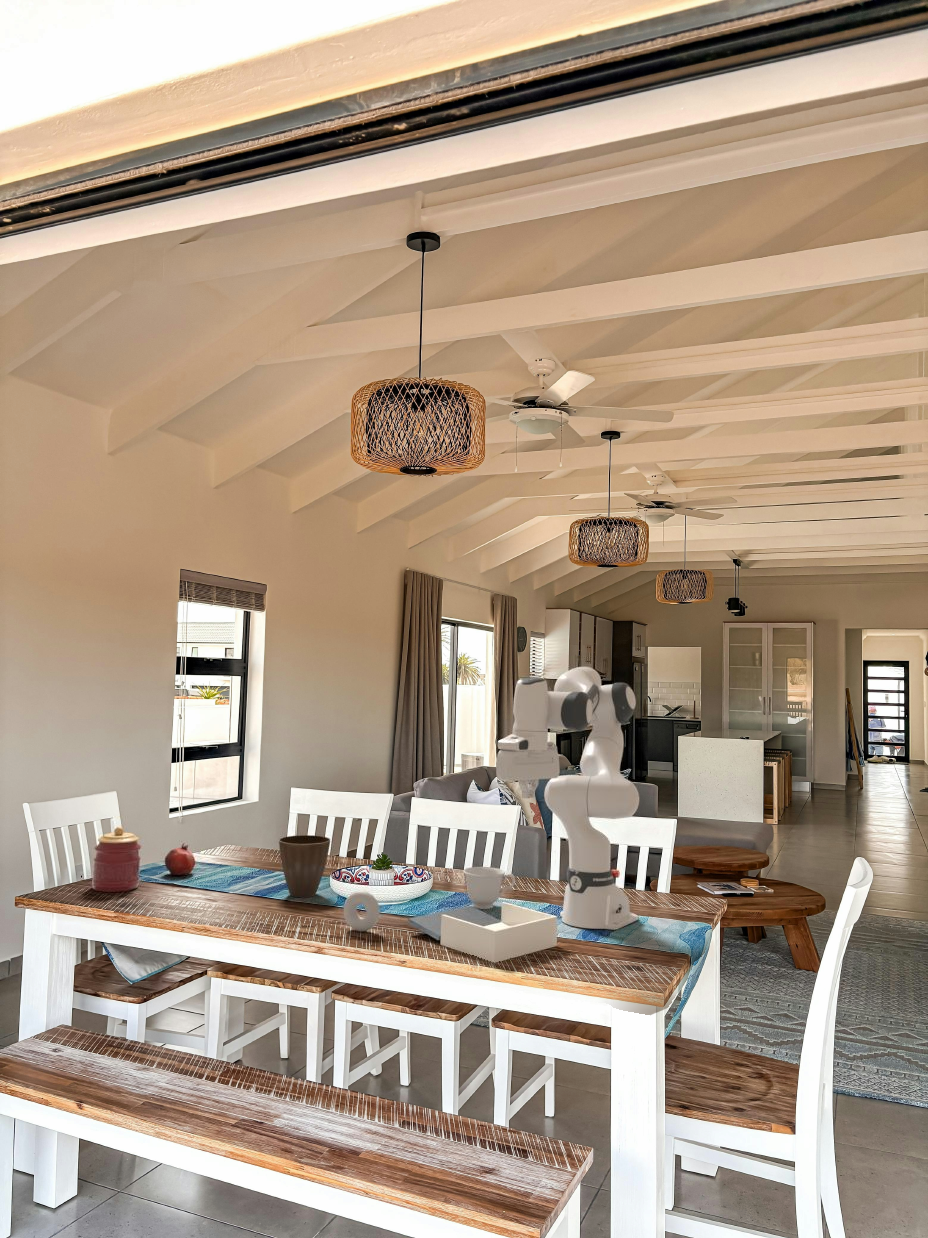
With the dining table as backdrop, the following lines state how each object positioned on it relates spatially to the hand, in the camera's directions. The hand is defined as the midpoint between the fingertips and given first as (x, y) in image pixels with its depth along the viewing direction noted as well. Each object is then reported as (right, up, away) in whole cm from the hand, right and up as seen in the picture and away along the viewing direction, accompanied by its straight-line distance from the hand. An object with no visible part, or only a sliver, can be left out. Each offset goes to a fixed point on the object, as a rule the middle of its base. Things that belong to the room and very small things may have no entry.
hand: (528, 798), depth 222 cm
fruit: (-106, -37, +60) cm, 127 cm away
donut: (-42, -34, +2) cm, 54 cm away
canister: (-119, -35, +40) cm, 130 cm away
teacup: (-9, -38, +31) cm, 50 cm away
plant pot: (-63, -36, +39) cm, 83 cm away
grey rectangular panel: (-14, -34, +1) cm, 37 cm away
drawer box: (-8, -35, -6) cm, 36 cm away
